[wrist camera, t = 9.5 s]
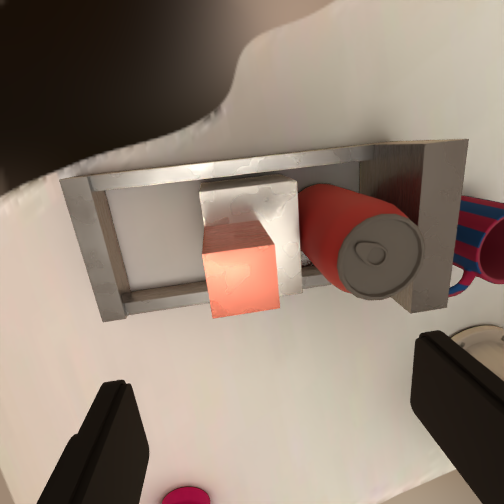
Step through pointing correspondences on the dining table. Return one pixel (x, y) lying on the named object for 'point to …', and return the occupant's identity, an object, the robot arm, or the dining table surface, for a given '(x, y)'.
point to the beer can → (359, 241)
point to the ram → (250, 243)
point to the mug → (479, 242)
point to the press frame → (370, 181)
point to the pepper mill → (187, 496)
